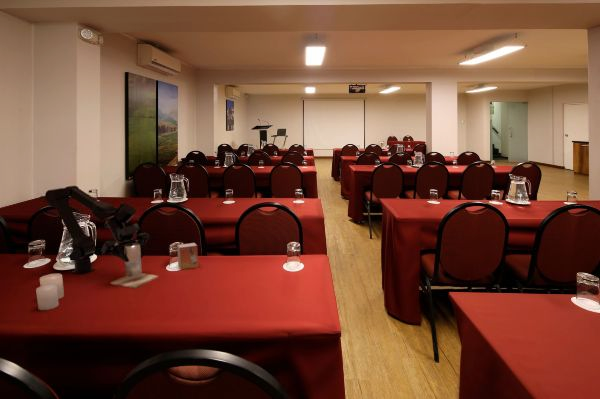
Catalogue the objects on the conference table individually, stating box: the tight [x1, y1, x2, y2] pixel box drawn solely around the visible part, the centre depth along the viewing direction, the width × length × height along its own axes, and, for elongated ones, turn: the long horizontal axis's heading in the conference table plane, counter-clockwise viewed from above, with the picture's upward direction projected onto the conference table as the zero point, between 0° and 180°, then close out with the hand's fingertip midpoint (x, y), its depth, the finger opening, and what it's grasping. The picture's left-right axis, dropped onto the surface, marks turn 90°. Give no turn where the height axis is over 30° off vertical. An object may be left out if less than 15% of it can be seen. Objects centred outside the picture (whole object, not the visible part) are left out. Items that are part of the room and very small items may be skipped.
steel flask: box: [123, 243, 143, 277], centre depth 157 cm, size 6×6×12 cm
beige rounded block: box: [39, 273, 65, 300], centre depth 142 cm, size 7×7×8 cm
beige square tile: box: [110, 272, 159, 289], centre depth 159 cm, size 13×13×1 cm
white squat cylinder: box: [35, 284, 60, 311], centre depth 134 cm, size 6×6×7 cm
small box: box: [176, 242, 199, 270], centre depth 174 cm, size 8×6×10 cm
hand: (134, 259), depth 156 cm, fingers closed on steel flask, 6 cm apart
